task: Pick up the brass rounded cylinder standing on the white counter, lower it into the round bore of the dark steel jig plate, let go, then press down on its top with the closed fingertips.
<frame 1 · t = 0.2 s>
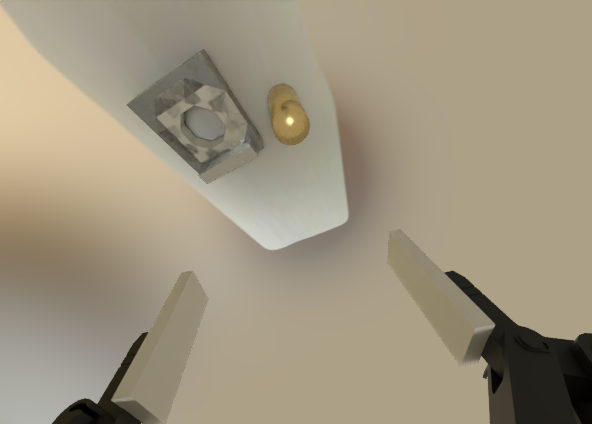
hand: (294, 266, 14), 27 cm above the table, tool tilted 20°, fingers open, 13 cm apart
brass rounded cylinder: (282, 100, 32), on the table
jig: (205, 121, 32), on the table
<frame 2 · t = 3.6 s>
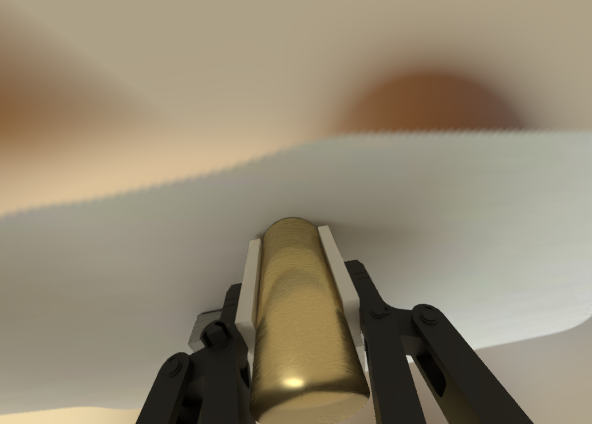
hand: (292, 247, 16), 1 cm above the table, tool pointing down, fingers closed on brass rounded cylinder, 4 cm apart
brass rounded cylinder: (291, 242, 16), on the table, touching gripper
jig: (285, 338, 22), on the table
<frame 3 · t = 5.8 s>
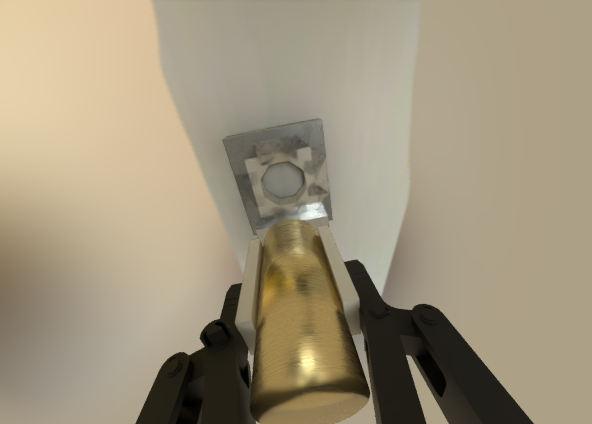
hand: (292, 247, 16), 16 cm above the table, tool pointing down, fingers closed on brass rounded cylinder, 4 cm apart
brass rounded cylinder: (291, 242, 16), point 16 cm above the table, touching gripper
jig: (283, 178, 30), on the table
when the fingers open (3 cm above the table, at t = 7.9 s): brass rounded cylinder drops 3 cm, resting in jig.
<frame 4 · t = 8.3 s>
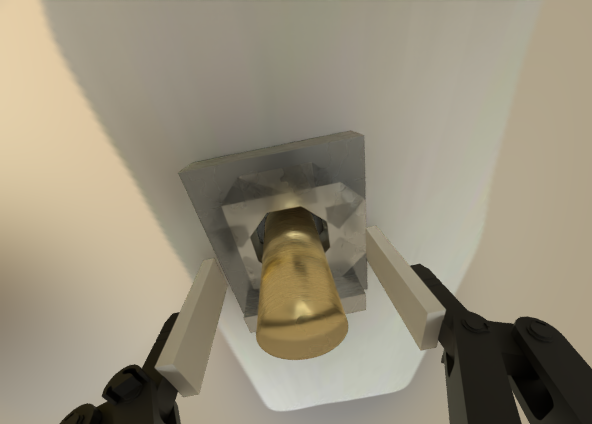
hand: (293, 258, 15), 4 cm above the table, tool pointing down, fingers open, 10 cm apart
brass rounded cylinder: (289, 225, 19), resting in jig
jig: (289, 225, 19), on the table
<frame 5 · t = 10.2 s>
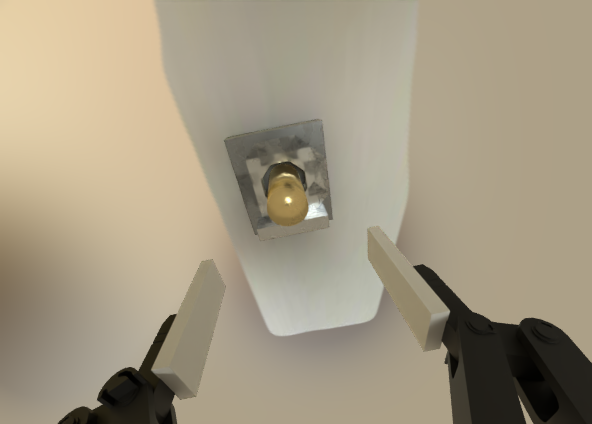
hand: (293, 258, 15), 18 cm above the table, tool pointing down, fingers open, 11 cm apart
brass rounded cylinder: (284, 178, 31), resting in jig
jig: (283, 178, 31), on the table
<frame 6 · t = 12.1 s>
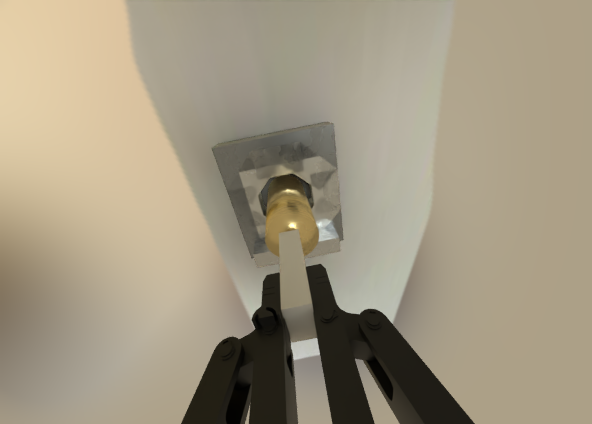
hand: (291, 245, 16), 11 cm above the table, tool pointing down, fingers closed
brass rounded cylinder: (285, 191, 26), resting in jig
jig: (285, 191, 26), on the table
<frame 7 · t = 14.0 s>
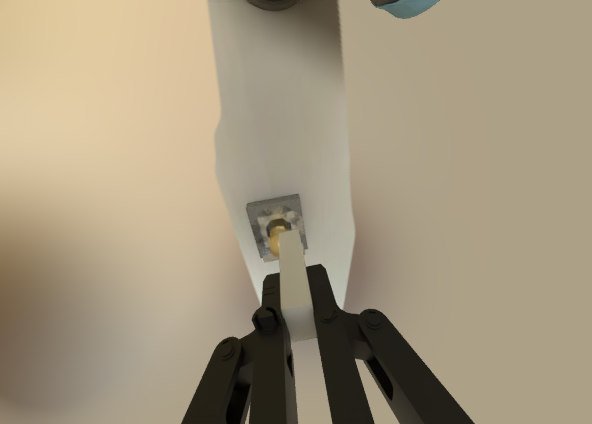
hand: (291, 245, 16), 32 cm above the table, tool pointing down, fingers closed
brass rounded cylinder: (278, 224, 51), resting in jig
jig: (278, 224, 51), on the table
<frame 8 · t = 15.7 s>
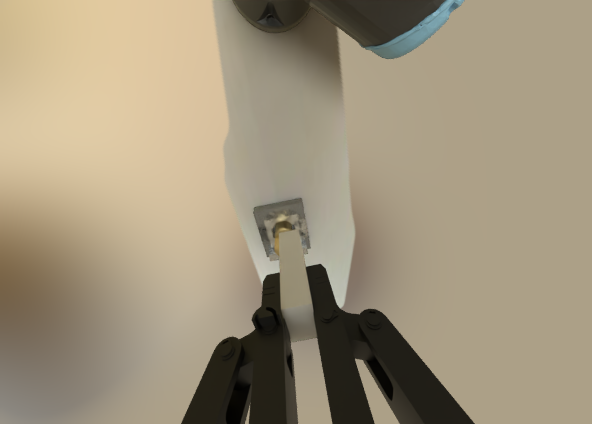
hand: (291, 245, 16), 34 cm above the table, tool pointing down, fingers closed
brass rounded cylinder: (283, 226, 55), resting in jig
jig: (283, 226, 55), on the table
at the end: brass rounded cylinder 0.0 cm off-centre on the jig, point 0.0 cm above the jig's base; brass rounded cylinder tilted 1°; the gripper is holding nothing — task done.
